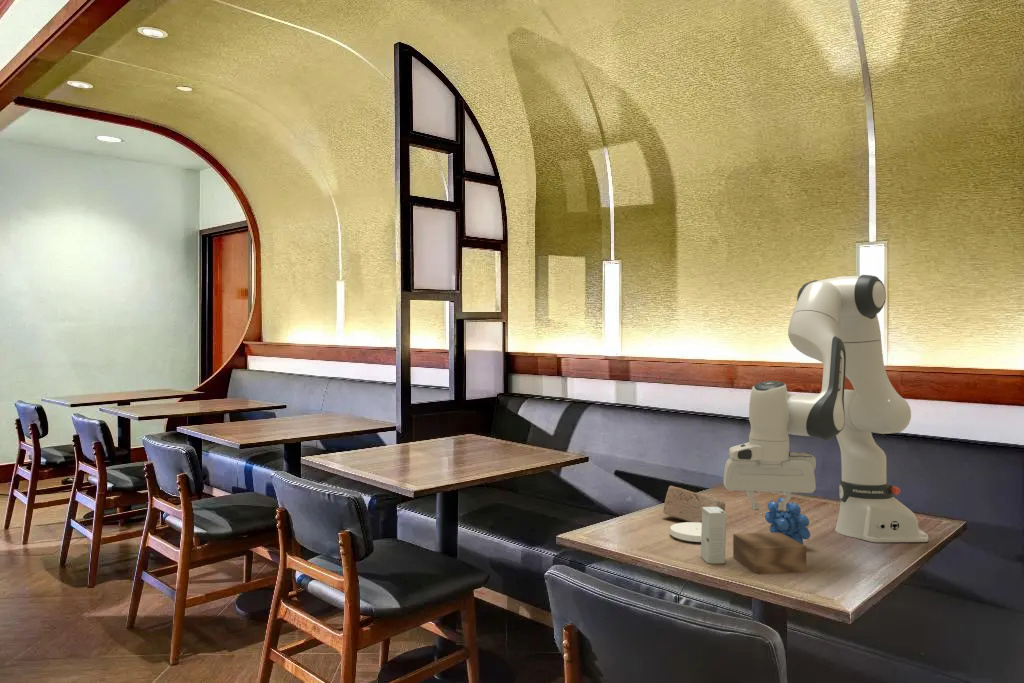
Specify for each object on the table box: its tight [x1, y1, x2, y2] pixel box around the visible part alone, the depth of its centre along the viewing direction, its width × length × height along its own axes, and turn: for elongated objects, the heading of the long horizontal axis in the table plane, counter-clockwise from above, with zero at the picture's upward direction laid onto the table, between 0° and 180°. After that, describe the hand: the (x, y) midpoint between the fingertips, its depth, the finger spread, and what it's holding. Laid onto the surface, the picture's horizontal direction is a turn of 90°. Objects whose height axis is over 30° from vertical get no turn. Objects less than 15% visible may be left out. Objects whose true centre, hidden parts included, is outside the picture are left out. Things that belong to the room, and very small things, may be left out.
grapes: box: [764, 497, 811, 545], centre depth 183 cm, size 12×7×12 cm, turn 46°
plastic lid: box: [669, 521, 702, 543], centre depth 192 cm, size 14×14×2 cm
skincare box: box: [700, 507, 727, 565], centre depth 172 cm, size 6×4×12 cm
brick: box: [662, 485, 726, 523], centre depth 205 cm, size 17×8×5 cm
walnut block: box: [732, 532, 807, 575], centre depth 169 cm, size 12×12×6 cm
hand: (768, 510), depth 169 cm, fingers open, 5 cm apart
